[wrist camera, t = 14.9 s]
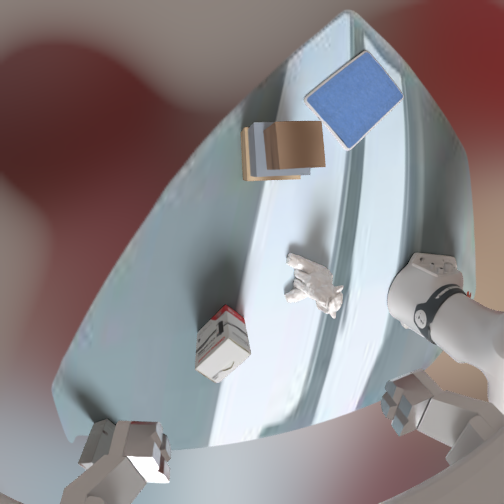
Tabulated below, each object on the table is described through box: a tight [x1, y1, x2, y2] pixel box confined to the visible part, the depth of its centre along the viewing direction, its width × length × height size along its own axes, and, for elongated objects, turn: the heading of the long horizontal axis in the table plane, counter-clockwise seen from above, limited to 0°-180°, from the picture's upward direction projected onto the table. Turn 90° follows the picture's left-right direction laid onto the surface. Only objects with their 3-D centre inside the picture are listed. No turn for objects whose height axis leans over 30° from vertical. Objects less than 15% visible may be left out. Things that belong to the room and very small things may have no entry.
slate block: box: [248, 122, 310, 177], centre depth 37 cm, size 7×7×6 cm
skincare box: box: [78, 419, 116, 470], centre depth 51 cm, size 8×7×16 cm
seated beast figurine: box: [284, 253, 344, 318], centre depth 47 cm, size 10×9×12 cm
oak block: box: [241, 127, 300, 181], centre depth 43 cm, size 8×8×6 cm
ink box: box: [195, 305, 251, 383], centre depth 47 cm, size 8×5×12 cm, turn 136°
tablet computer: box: [304, 51, 404, 151], centre depth 44 cm, size 19×13×1 cm, turn 134°
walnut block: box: [263, 121, 326, 170], centre depth 31 cm, size 5×5×7 cm
